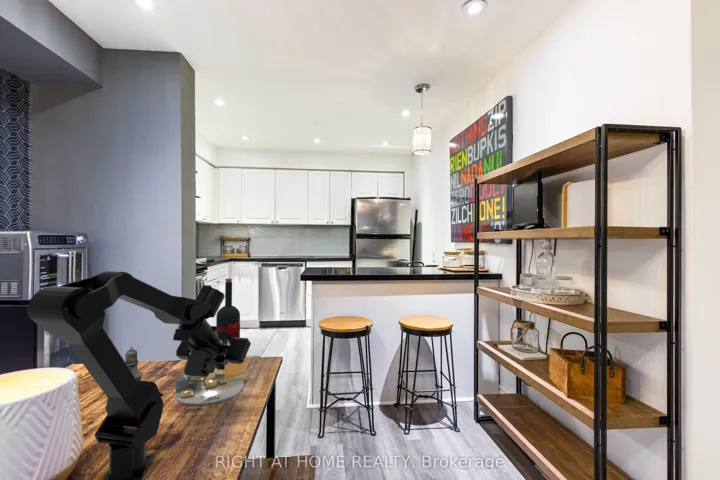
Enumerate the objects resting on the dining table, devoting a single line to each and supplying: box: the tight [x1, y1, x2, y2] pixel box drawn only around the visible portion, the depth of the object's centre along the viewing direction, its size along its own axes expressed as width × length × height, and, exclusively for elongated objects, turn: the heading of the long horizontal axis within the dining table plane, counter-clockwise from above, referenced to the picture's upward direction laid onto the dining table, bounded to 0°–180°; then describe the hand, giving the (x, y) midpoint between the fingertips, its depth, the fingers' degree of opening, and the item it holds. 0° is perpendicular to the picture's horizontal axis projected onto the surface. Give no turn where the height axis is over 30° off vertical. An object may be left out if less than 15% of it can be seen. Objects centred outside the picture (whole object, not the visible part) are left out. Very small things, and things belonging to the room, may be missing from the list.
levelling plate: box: [174, 373, 245, 407], centre depth 95 cm, size 18×18×6 cm
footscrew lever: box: [204, 356, 247, 388], centre depth 98 cm, size 12×4×10 cm, turn 130°
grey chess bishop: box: [124, 346, 144, 381], centre depth 96 cm, size 6×6×12 cm
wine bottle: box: [215, 278, 241, 370], centre depth 114 cm, size 8×10×30 cm
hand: (226, 363), depth 92 cm, fingers closed
